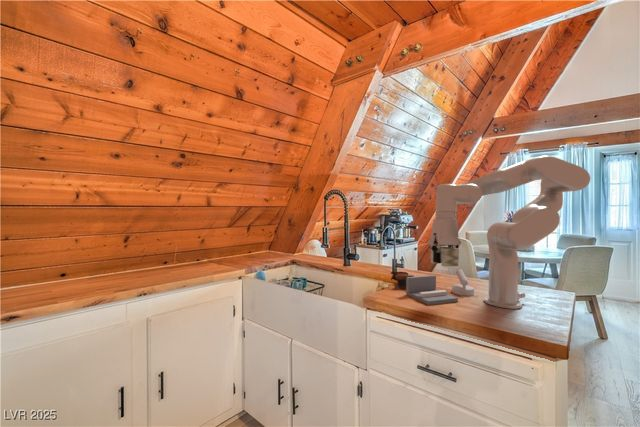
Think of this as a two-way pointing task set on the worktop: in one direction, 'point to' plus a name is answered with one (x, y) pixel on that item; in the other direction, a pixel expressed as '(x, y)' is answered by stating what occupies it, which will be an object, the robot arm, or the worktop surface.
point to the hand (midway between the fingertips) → (444, 261)
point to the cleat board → (427, 290)
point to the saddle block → (447, 256)
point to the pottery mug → (400, 279)
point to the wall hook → (462, 288)
